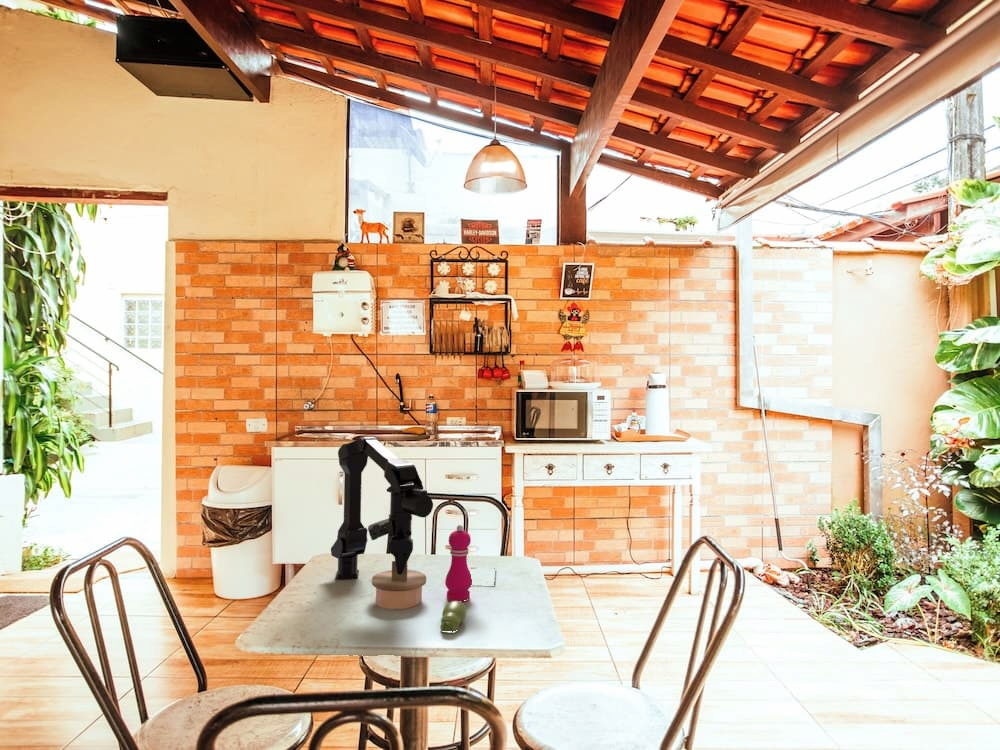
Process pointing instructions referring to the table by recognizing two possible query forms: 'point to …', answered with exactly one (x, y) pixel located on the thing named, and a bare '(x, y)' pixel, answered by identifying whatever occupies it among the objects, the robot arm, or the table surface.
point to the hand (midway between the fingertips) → (399, 568)
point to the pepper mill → (459, 566)
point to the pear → (453, 616)
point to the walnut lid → (398, 579)
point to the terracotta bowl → (398, 598)
